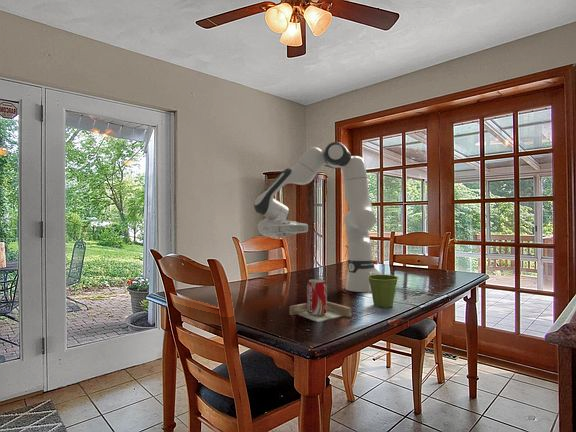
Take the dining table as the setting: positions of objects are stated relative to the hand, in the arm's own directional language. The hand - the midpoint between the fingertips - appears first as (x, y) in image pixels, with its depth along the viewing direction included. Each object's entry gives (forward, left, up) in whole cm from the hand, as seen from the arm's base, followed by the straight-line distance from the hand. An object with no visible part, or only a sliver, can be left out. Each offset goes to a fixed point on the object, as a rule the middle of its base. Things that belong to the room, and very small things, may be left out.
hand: (297, 228), depth 154 cm
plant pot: (-17, +32, -30) cm, 47 cm away
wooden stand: (+11, +27, -30) cm, 42 cm away
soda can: (+12, +26, -30) cm, 42 cm away
